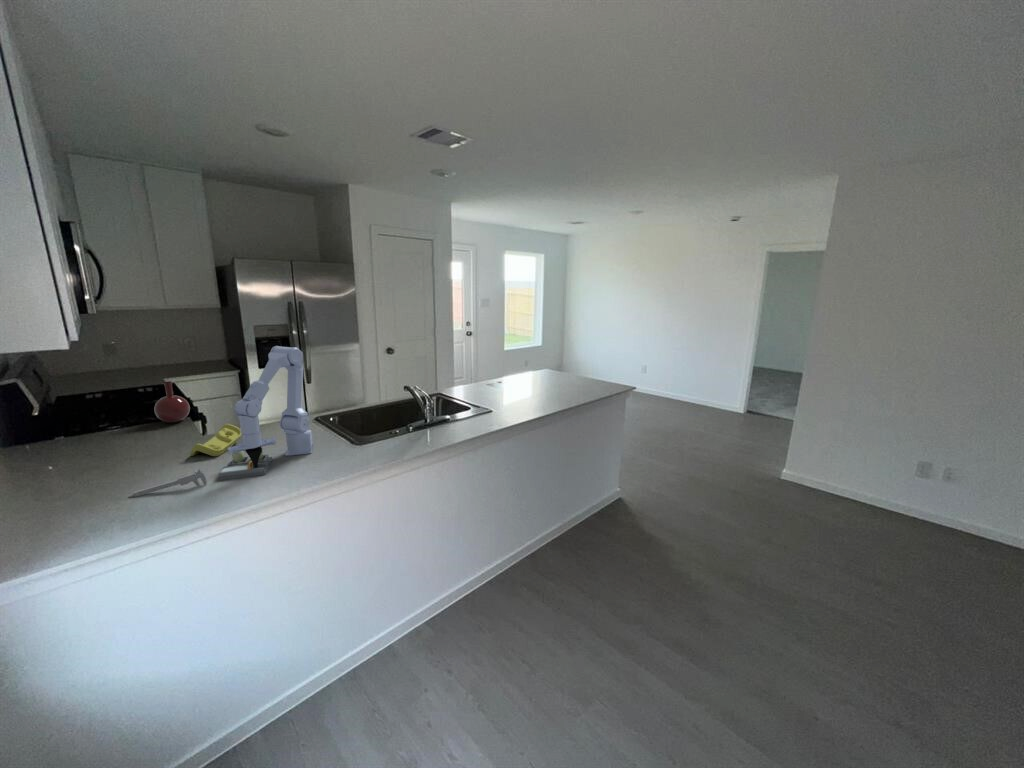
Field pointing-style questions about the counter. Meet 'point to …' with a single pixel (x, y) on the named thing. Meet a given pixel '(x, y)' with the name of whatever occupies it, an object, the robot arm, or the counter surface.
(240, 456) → the peg
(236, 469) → the lid
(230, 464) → the housing
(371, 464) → the counter surface
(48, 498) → the counter surface
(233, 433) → the plastic component
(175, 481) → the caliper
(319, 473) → the counter surface
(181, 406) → the round-bottom flask
